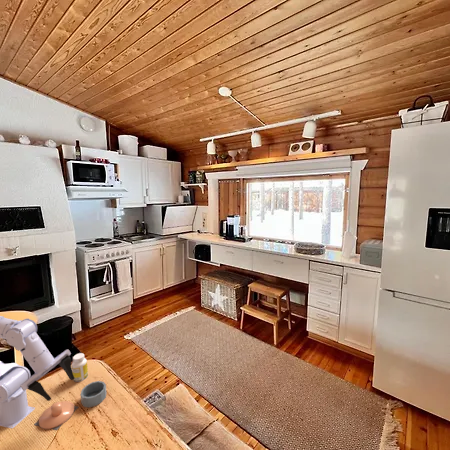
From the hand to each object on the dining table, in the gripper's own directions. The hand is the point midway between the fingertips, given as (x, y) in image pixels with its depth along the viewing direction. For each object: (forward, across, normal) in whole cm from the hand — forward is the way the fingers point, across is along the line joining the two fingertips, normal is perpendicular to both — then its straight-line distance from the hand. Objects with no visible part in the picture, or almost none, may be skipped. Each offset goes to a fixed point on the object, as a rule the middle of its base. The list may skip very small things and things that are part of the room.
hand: (61, 389), depth 83 cm
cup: (+12, +7, +6) cm, 15 cm away
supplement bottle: (+7, +11, +19) cm, 23 cm away
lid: (+8, -3, +8) cm, 11 cm away
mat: (+8, -3, +8) cm, 12 cm away
